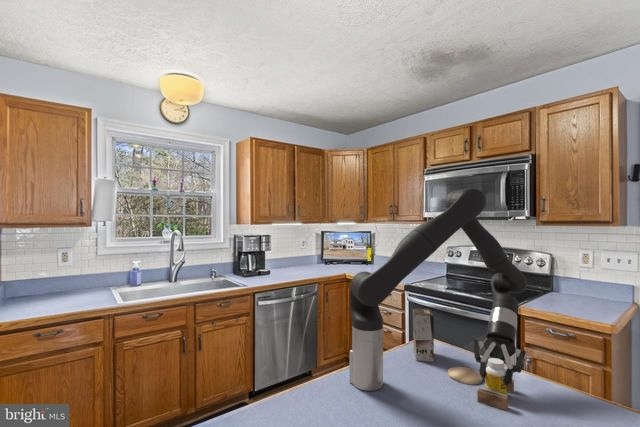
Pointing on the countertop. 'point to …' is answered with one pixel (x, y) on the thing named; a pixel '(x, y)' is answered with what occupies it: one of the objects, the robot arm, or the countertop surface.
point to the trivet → (465, 375)
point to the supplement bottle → (495, 376)
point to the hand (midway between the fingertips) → (494, 380)
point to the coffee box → (423, 334)
